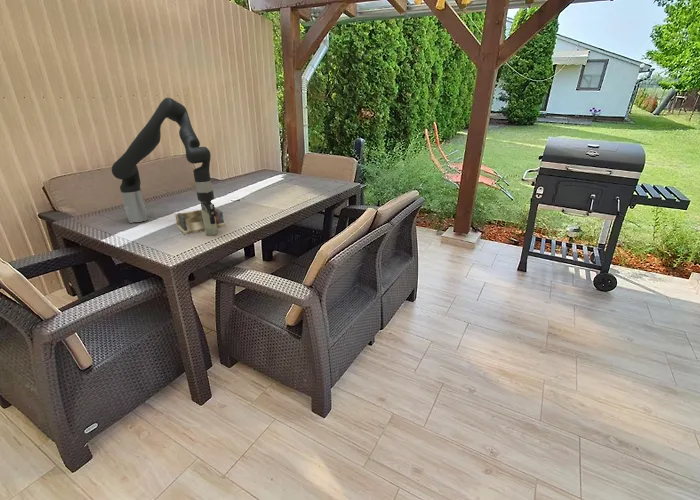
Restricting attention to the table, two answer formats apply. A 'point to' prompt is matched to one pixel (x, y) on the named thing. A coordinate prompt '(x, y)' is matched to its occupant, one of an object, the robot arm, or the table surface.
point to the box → (208, 224)
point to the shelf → (196, 221)
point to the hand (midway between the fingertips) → (210, 221)
